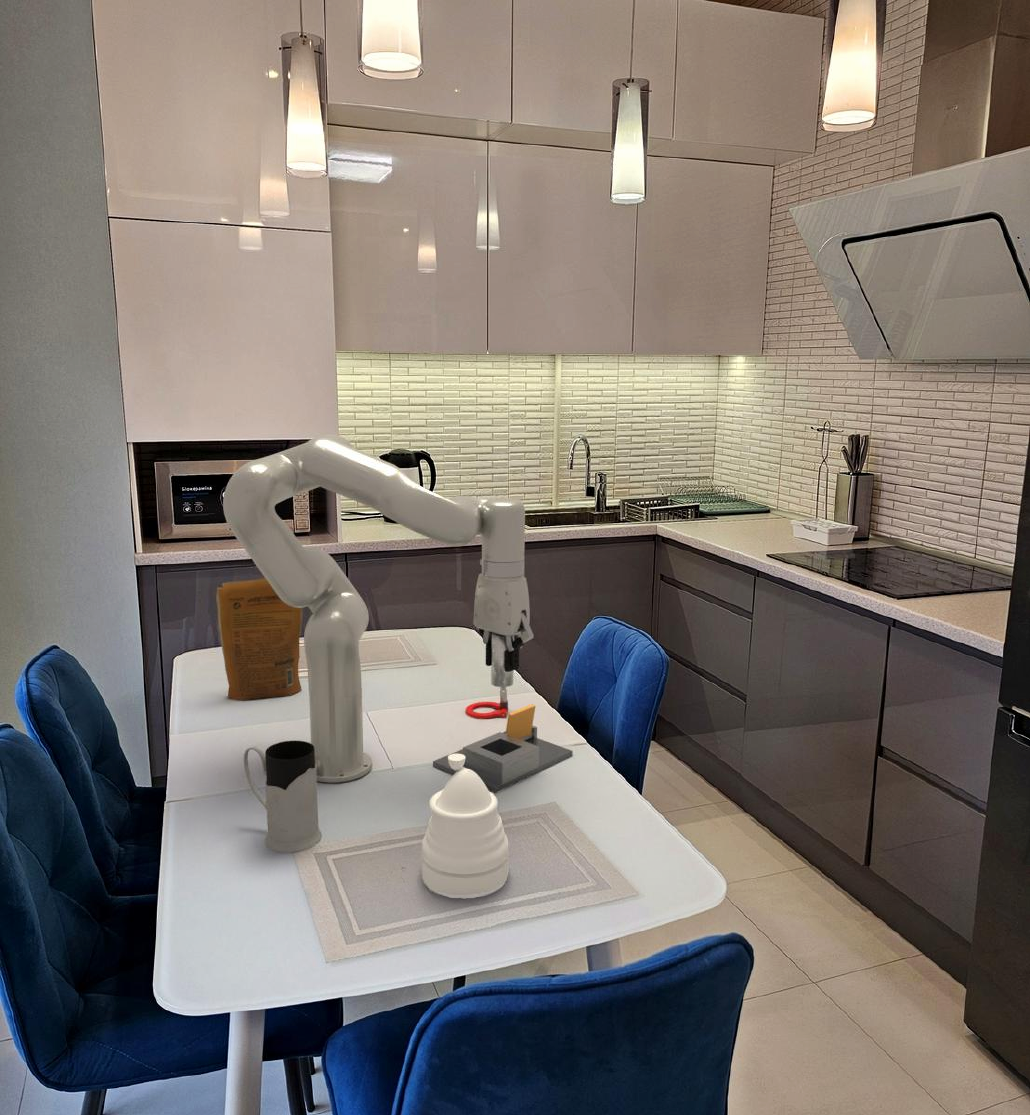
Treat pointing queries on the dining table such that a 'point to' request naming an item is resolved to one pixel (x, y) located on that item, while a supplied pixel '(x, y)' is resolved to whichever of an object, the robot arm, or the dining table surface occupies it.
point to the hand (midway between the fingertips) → (502, 666)
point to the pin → (499, 662)
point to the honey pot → (464, 837)
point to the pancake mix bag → (258, 640)
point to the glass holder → (289, 795)
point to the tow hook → (502, 706)
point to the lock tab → (521, 723)
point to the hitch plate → (544, 762)
